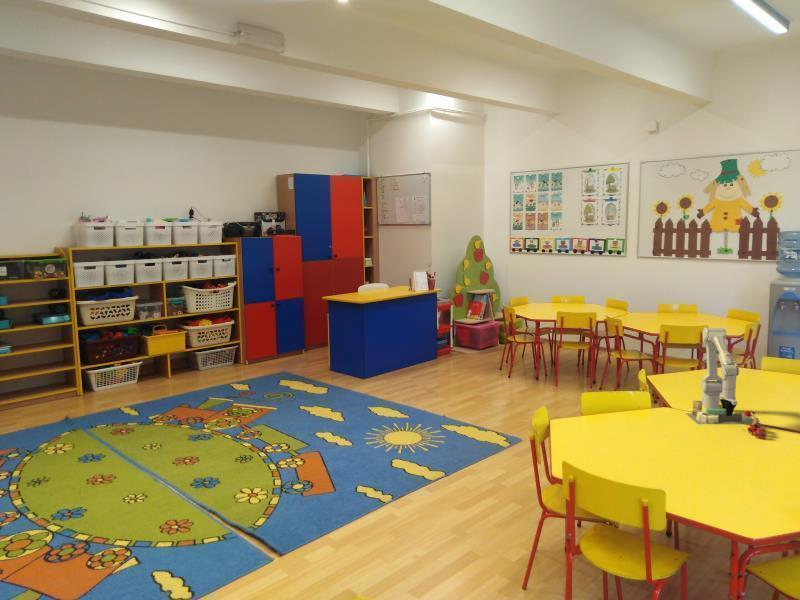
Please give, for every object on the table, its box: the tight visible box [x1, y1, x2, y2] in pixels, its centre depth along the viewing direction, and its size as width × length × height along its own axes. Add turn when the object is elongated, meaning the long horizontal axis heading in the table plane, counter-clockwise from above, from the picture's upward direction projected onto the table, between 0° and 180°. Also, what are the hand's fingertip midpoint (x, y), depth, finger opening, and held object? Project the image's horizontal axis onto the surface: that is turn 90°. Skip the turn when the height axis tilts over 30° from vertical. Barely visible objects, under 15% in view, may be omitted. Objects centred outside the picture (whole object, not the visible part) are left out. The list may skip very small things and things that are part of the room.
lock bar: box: [705, 408, 734, 415], centre depth 300 cm, size 3×12×2 cm, turn 85°
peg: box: [691, 399, 703, 416], centre depth 308 cm, size 4×4×7 cm
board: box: [685, 410, 763, 428], centre depth 302 cm, size 16×30×4 cm, turn 85°
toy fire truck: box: [743, 410, 767, 440], centre depth 283 cm, size 3×14×10 cm, turn 179°
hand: (727, 414), depth 300 cm, fingers closed on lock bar, 3 cm apart
